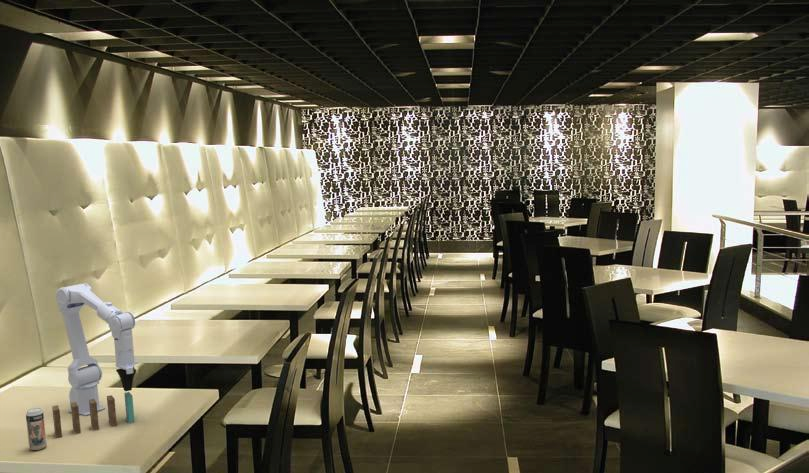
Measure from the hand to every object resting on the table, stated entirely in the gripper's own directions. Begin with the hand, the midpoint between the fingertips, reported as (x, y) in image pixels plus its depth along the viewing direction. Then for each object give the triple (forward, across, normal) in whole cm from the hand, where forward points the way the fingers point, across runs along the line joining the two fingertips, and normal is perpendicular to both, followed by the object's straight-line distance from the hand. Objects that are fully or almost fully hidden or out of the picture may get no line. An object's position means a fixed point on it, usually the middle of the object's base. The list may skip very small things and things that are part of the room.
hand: (127, 390), depth 258 cm
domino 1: (+10, 0, +22) cm, 24 cm away
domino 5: (+10, 0, 0) cm, 10 cm away
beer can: (+11, -8, +29) cm, 32 cm away
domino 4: (+10, 0, +6) cm, 12 cm away
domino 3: (+10, 0, +11) cm, 15 cm away
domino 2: (+10, 0, +16) cm, 20 cm away
